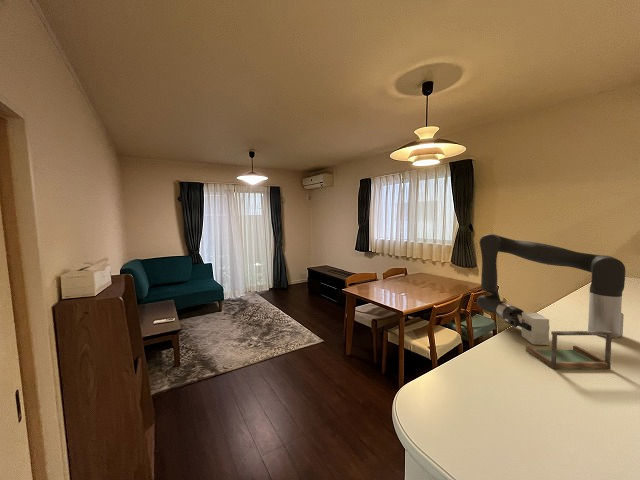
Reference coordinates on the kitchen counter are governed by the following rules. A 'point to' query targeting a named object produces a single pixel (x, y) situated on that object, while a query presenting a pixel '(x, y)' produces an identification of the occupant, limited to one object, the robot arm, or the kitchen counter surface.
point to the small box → (536, 328)
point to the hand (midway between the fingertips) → (539, 328)
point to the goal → (573, 353)
